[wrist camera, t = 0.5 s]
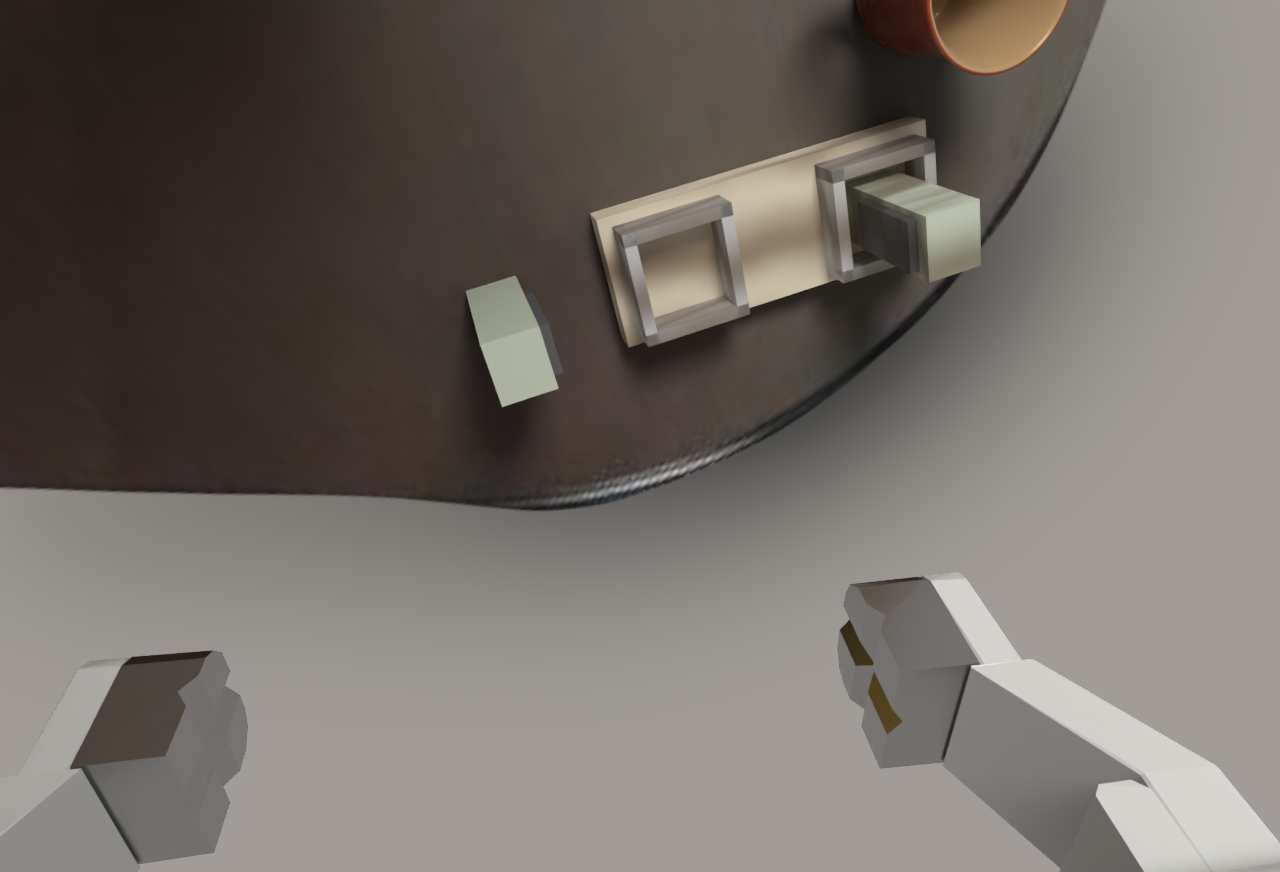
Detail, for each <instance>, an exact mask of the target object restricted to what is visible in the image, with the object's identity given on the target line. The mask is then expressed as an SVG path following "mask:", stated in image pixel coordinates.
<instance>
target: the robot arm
mask: <svg viewBox="0 0 1280 872" xmlns="http://www.w3.org/2000/svg"><path fill="white" fill-rule="evenodd" d="M844 608H845V610H846V612H847V614H848V617H849V619H850V620H849V621H848V622H847V623H846V624H845V625H844V626H843V627H842V628H841V629H840V633H839V641H838V657H839V668H840V671H841V675H842V679H843V683H844V685H845V688H846V690H847V692H848V695H849V697H850V699H851V700H853V701H854V702H855V703H857V704H858V705H860V706H861V707H862V708H864V709H865V710H864V716H863V721H862V728H863V730H864V733H865V735H866V737H867V739H868V742H869V744H870V746H871V749H872V751H873V753H874V756H875V758H876V760H877V763H878V765H879V767H880V768H890V767H900V766H910V765H920V764H931V763H941V762H944V763H943V766H944V767H945V768H946V769H947V770H948V771H949V772H951V773H952V774H953V775H954V776H955V777H956V778H958V779H959V780H960V781H961V782H962V783H963V784H964V785H966V786H967V787H968V788H969V789H970V790H971V791H972V792H974V793H975V794H976V795H977V796H978V797H979V798H980V799H982V800H983V801H984V802H985V803H986V804H987V805H988V806H990V807H991V808H992V809H993V810H994V811H995V812H996V813H998V814H999V815H1000V816H1001V817H1002V818H1003V819H1004V820H1006V821H1007V822H1008V823H1009V824H1010V825H1011V826H1013V827H1014V828H1015V829H1016V830H1017V831H1018V832H1019V833H1020V834H1022V835H1023V836H1024V837H1025V838H1026V839H1027V840H1028V841H1030V842H1031V843H1032V844H1033V845H1034V846H1035V847H1037V848H1038V849H1039V850H1040V851H1041V852H1042V853H1043V854H1045V855H1046V856H1047V857H1048V858H1049V859H1050V860H1051V861H1053V862H1054V863H1055V864H1056V865H1057V866H1058V867H1060V868H1061V870H1060V872H1280V843H1279V842H1278V841H1277V839H1276V838H1275V837H1274V836H1273V834H1272V833H1271V832H1270V831H1269V830H1268V828H1267V827H1266V826H1265V825H1264V823H1263V822H1262V821H1261V820H1260V819H1259V817H1258V816H1257V815H1256V814H1255V812H1254V811H1253V810H1252V809H1251V808H1250V806H1249V805H1248V804H1247V802H1246V801H1245V800H1244V799H1243V798H1242V796H1241V795H1240V794H1239V793H1238V791H1237V790H1236V789H1235V788H1234V787H1233V785H1232V784H1231V783H1230V782H1229V780H1228V779H1227V778H1226V777H1225V776H1224V774H1223V773H1222V772H1221V771H1220V769H1219V768H1218V767H1217V766H1216V765H1214V764H1212V763H1210V762H1209V761H1207V760H1205V759H1204V758H1202V757H1200V756H1199V755H1197V754H1195V753H1193V752H1191V751H1190V750H1188V749H1186V748H1185V747H1183V746H1181V745H1180V744H1178V743H1176V742H1174V741H1173V740H1171V739H1169V738H1168V737H1166V736H1164V735H1162V734H1160V733H1159V732H1157V731H1155V730H1154V729H1152V728H1150V727H1149V726H1147V725H1145V724H1143V723H1142V722H1140V721H1138V720H1137V719H1135V718H1133V717H1131V716H1130V715H1128V714H1126V713H1124V712H1123V711H1121V710H1119V709H1118V708H1116V707H1114V706H1113V705H1111V704H1109V703H1107V702H1106V701H1104V700H1102V699H1100V698H1099V697H1097V696H1095V695H1094V694H1092V693H1090V692H1088V691H1087V690H1085V689H1083V688H1082V687H1080V686H1078V685H1076V684H1075V683H1073V682H1071V681H1070V680H1068V679H1066V678H1064V677H1063V676H1061V675H1059V674H1058V673H1056V672H1054V671H1052V670H1051V669H1049V668H1047V667H1046V666H1044V665H1042V664H1040V663H1039V662H1037V661H1035V660H1033V659H1028V660H1021V658H1020V656H1019V655H1018V654H1017V652H1016V651H1015V649H1014V648H1013V646H1012V645H1011V643H1010V642H1009V640H1008V639H1007V637H1006V636H1005V635H1004V633H1003V632H1002V630H1001V629H1000V627H999V626H998V624H997V623H996V621H995V620H994V619H993V617H992V616H991V614H990V613H989V611H988V610H987V608H986V607H985V605H984V604H983V603H982V601H981V600H980V598H979V597H978V595H977V594H976V592H975V591H974V590H973V588H972V586H971V585H970V584H969V582H968V581H967V579H966V578H965V577H964V576H963V575H961V574H960V573H958V572H954V573H945V574H937V575H928V576H922V577H911V578H903V579H894V580H885V581H876V582H867V583H858V584H850V586H849V588H848V590H847V591H846V595H845V601H844ZM229 672H230V670H229V667H228V665H227V663H226V661H225V659H224V657H223V654H222V653H221V652H217V651H201V652H188V653H176V654H164V655H151V656H139V657H131V658H125V659H111V660H98V661H89V662H88V663H86V664H85V665H84V666H82V667H81V668H80V669H78V671H77V672H76V673H75V675H74V677H73V679H72V680H71V682H70V684H69V686H68V687H67V689H66V691H65V693H64V695H63V696H62V698H61V700H60V701H59V703H58V705H57V707H56V708H55V710H54V712H53V714H52V715H51V717H50V719H49V721H48V722H47V724H46V726H45V728H44V730H43V731H42V733H41V735H40V737H39V738H38V740H37V742H36V744H35V745H34V747H33V749H32V751H31V753H30V754H29V756H28V758H27V759H26V761H25V763H24V765H23V767H22V768H21V770H20V772H19V773H18V775H16V776H9V777H3V778H2V779H1V780H0V872H137V871H138V870H139V868H140V867H139V865H138V864H143V863H149V862H156V861H162V860H169V859H175V858H182V857H188V856H195V855H201V854H207V853H214V851H215V848H216V844H217V841H218V838H219V835H220V832H221V829H222V826H223V822H224V819H225V816H226V813H227V810H228V807H229V803H230V801H229V799H228V797H227V795H226V792H225V790H224V788H223V786H224V785H225V784H226V783H227V782H228V781H229V780H230V779H231V778H232V777H233V776H234V775H235V774H236V773H237V772H239V771H240V768H241V765H242V761H243V758H244V754H245V751H246V741H247V728H248V725H247V718H246V712H245V707H244V705H243V702H242V699H241V697H240V695H239V694H237V693H236V692H234V691H233V690H231V689H229V688H228V687H226V686H225V684H226V681H227V678H228V675H229Z"/></svg>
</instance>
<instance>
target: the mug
mask: <svg viewBox="0 0 1280 872" xmlns="http://www.w3.org/2000/svg"><path fill="white" fill-rule="evenodd" d="M1067 2H1068V0H856V6H857V11H858V14H859V17H860V20H861V22H862V24H863V26H864V28H865V30H866V31H867V33H868V34H869V35H870V36H871V37H872V38H873V39H874V40H875V41H876V42H878V43H879V44H881V45H882V46H884V47H886V48H888V49H890V50H892V51H895V52H897V53H900V54H904V55H921V56H943V57H944V58H945V59H946V60H947V61H948V62H950V63H951V64H952V65H954V66H955V67H957V68H958V69H960V70H962V71H965V72H967V73H971V74H975V75H995V74H999V73H1003V72H1006V71H1008V70H1011V69H1013V68H1015V67H1017V66H1019V65H1020V64H1022V63H1023V62H1025V61H1026V60H1028V59H1029V58H1030V57H1031V56H1032V55H1034V54H1035V53H1036V52H1037V51H1038V50H1039V49H1040V48H1041V47H1042V46H1043V44H1044V43H1045V42H1046V41H1047V40H1048V38H1049V37H1050V35H1051V34H1052V33H1053V31H1054V29H1055V28H1056V26H1057V24H1058V23H1059V21H1060V19H1061V17H1062V15H1063V12H1064V10H1065V8H1066V5H1067Z"/></svg>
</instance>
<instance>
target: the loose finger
mask: <svg viewBox="0 0 1280 872" xmlns="http://www.w3.org/2000/svg"><path fill="white" fill-rule="evenodd" d="M466 295H467V298H468V302H469V306H470V310H471V313H472V317H473V321H474V324H475V328H476V332H477V336H478V339H479V343H480V346H481V349H482V352H483V355H484V358H485V360H486V363H487V366H488V369H489V372H490V374H491V377H492V380H493V383H494V386H495V388H496V391H497V394H498V397H499V400H500V402H501V405H502V407H504V406H507V405H510V404H513V403H516V402H519V401H522V400H525V399H528V398H531V397H534V396H537V395H540V394H543V393H546V392H550V391H553V390H556V389H559V388H558V385H557V382H556V379H555V375H558V374H561V373H563V370H562V366H561V363H560V360H559V357H558V353H557V350H556V347H555V344H554V340H553V337H552V334H551V330H550V327H549V324H548V322H547V320H546V318H545V316H544V314H543V312H542V310H541V308H540V306H539V304H538V302H537V300H536V298H535V296H534V294H533V292H531V293H528V294H525V295H524V293H523V291H522V289H521V286H520V284H519V282H518V280H517V278H516V276H513V277H509V278H506V279H503V280H500V281H496V282H493V283H490V284H487V285H484V286H480V287H477V288H474V289H471V290H468V291H466Z"/></svg>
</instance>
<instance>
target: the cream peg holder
mask: <svg viewBox="0 0 1280 872" xmlns="http://www.w3.org/2000/svg"><path fill="white" fill-rule="evenodd" d="M590 217H591V221H592V224H593V228H594V232H595V236H596V240H597V244H598V248H599V251H600V255H601V259H602V263H603V267H604V271H605V274H606V278H607V282H608V286H609V290H610V294H611V298H612V301H613V305H614V309H615V313H616V317H617V321H618V324H619V328H620V332H621V336H622V338H623V340H624V341H625V343H626V344H627V346H628V347H632V346H635V345H638V344H641V343H644V342H645V343H646V344H647V346H648V347H651V346H654V345H657V344H660V343H663V342H666V341H669V340H673V339H676V338H679V337H682V336H685V335H688V334H691V333H694V332H697V331H700V330H703V329H706V328H709V327H712V326H715V325H718V324H721V323H725V322H728V321H731V320H734V319H737V318H740V317H743V316H746V315H749V314H750V308H751V307H755V306H758V305H761V304H764V303H767V302H770V301H773V300H776V299H779V298H782V297H785V296H788V295H791V294H794V293H798V292H801V291H804V290H807V289H810V288H813V287H816V286H819V285H822V284H825V283H828V282H831V281H834V280H839V281H841V282H842V283H847V282H850V281H853V280H856V279H859V278H862V277H865V276H868V275H871V274H875V273H878V272H881V271H884V270H887V269H890V268H893V267H898V268H900V269H901V270H903V271H905V272H907V273H909V274H914V275H916V276H918V277H920V278H922V279H924V280H926V281H928V282H932V281H935V280H938V279H941V278H944V277H947V276H950V275H953V274H956V273H959V272H962V271H965V270H968V269H971V268H974V267H978V266H981V243H980V199H977V198H974V197H971V196H968V195H965V194H962V193H959V192H956V191H953V190H950V189H947V188H944V187H941V186H938V185H937V178H936V156H935V139H931V138H927V137H926V121H925V119H920V118H916V117H911V116H908V117H905V118H901V119H898V120H895V121H891V122H888V123H885V124H882V125H878V126H875V127H872V128H868V129H865V130H862V131H859V132H855V133H852V134H849V135H845V136H842V137H839V138H836V139H832V140H829V141H826V142H822V143H819V144H816V145H813V146H809V147H806V148H803V149H799V150H796V151H793V152H790V153H786V154H783V155H780V156H776V157H773V158H770V159H767V160H763V161H760V162H757V163H753V164H750V165H747V166H744V167H740V168H737V169H734V170H730V171H727V172H724V173H721V174H717V175H714V176H711V177H707V178H704V179H701V180H698V181H694V182H691V183H688V184H684V185H681V186H678V187H675V188H671V189H668V190H665V191H661V192H658V193H655V194H652V195H648V196H645V197H642V198H638V199H635V200H632V201H629V202H625V203H622V204H619V205H615V206H612V207H609V208H606V209H602V210H599V211H596V212H592V213H590Z"/></svg>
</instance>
